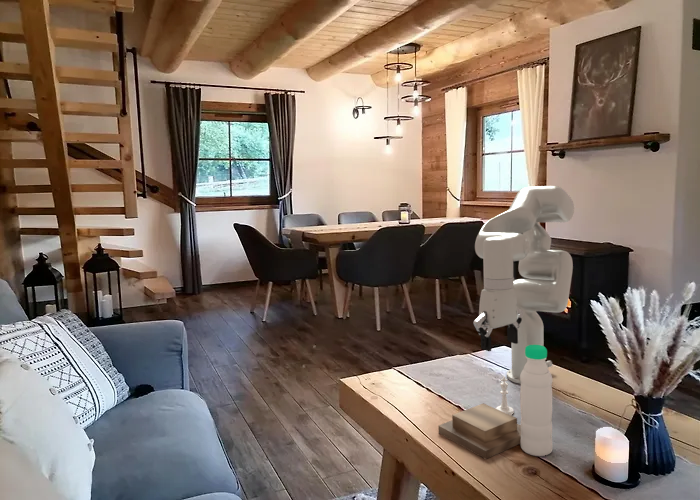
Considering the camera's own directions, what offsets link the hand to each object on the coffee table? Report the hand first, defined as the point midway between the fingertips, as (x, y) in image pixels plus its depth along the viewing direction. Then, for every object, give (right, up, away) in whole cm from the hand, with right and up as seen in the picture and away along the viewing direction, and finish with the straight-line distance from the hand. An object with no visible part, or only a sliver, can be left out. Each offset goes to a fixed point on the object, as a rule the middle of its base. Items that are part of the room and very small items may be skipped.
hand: (499, 346), depth 142 cm
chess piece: (+2, -19, +2) cm, 19 cm away
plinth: (-7, -20, -10) cm, 24 cm away
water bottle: (+4, -21, -18) cm, 28 cm away
